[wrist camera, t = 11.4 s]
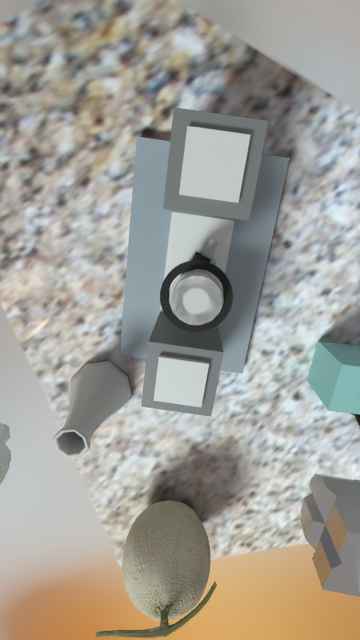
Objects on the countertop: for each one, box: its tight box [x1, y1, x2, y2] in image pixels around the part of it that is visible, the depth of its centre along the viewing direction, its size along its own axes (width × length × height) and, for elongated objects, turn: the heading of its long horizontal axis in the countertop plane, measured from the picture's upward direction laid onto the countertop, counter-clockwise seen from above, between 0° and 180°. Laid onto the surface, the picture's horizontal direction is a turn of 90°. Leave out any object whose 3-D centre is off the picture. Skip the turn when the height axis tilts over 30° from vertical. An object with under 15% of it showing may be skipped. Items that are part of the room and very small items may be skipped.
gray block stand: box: [120, 108, 290, 416], centre depth 27 cm, size 14×22×10 cm, turn 172°
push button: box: [160, 239, 233, 332], centre depth 26 cm, size 7×5×10 cm
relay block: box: [307, 341, 360, 414], centre depth 32 cm, size 5×5×6 cm
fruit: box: [96, 500, 217, 638], centre depth 36 cm, size 10×12×15 cm
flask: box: [53, 361, 132, 458], centre depth 32 cm, size 7×7×10 cm
